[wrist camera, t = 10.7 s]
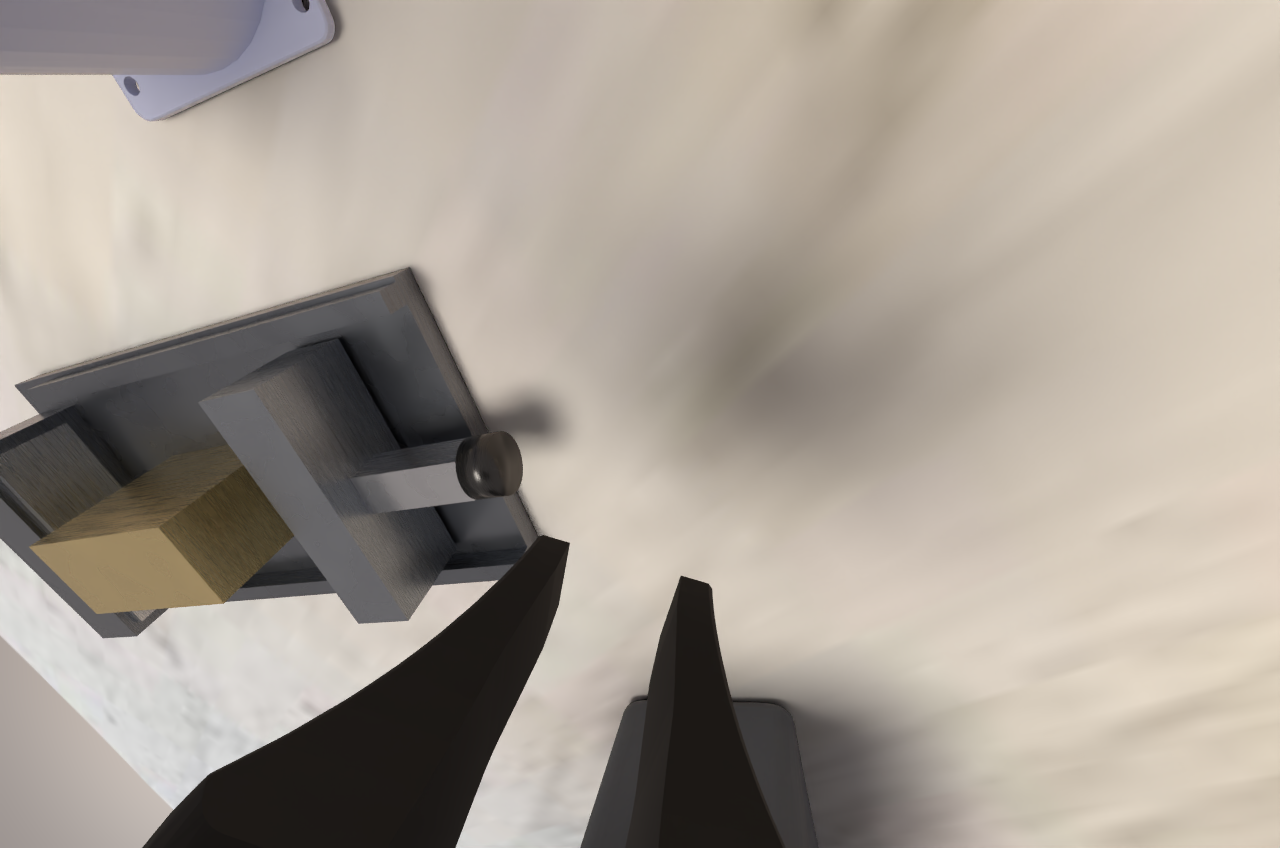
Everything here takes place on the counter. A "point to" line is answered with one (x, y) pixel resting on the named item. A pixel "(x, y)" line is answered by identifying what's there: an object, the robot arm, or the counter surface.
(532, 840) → the counter surface
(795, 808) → the storage bin
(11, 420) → the counter surface
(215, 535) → the brass block
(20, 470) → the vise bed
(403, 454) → the free jaw
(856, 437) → the counter surface
